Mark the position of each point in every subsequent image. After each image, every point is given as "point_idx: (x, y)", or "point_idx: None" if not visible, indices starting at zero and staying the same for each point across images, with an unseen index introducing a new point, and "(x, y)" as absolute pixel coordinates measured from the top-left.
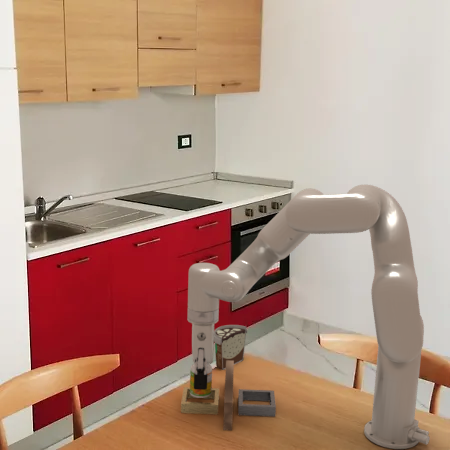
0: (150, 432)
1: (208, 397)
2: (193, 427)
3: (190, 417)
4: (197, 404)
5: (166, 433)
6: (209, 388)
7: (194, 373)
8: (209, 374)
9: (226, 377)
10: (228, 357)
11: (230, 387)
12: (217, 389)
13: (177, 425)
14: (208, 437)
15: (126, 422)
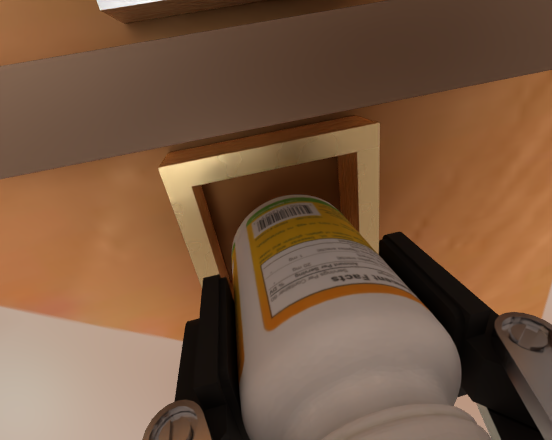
0: (484, 299)
1: (205, 202)
2: (465, 190)
3: (389, 223)
4: (377, 227)
5: (495, 259)
6: (338, 217)
7: (460, 394)
8: (403, 289)
9: (227, 121)
10: None
11: (461, 24)
12: (177, 174)
13: (448, 246)
14: (548, 111)
15: None
